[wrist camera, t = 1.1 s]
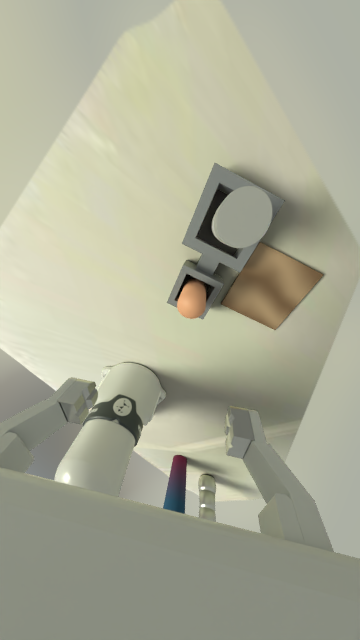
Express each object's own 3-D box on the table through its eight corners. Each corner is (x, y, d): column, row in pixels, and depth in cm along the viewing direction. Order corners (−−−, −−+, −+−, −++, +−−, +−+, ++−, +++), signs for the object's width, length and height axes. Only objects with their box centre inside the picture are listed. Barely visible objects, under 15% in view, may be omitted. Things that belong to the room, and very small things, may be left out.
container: (245, 210, 26) (285, 188, 13) (236, 243, 28) (261, 254, 15) (215, 204, 26) (223, 178, 13) (208, 238, 28) (208, 244, 15)
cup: (185, 465, 65) (179, 524, 52) (168, 459, 65) (159, 517, 52) (191, 457, 62) (187, 518, 49) (174, 451, 62) (165, 511, 49)
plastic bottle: (202, 470, 65) (201, 558, 48) (218, 476, 66) (222, 565, 48) (195, 476, 68) (191, 561, 51) (211, 482, 69) (212, 567, 51)
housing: (210, 311, 34) (210, 323, 30) (165, 290, 34) (158, 299, 29) (274, 204, 25) (288, 199, 21) (213, 172, 24) (215, 159, 20)
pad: (274, 328, 34) (275, 330, 34) (220, 303, 33) (221, 304, 33) (321, 274, 28) (323, 274, 28) (259, 241, 28) (260, 241, 27)
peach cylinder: (199, 302, 32) (197, 322, 25) (180, 293, 31) (172, 311, 24) (210, 283, 30) (211, 299, 23) (189, 273, 30) (184, 286, 23)
